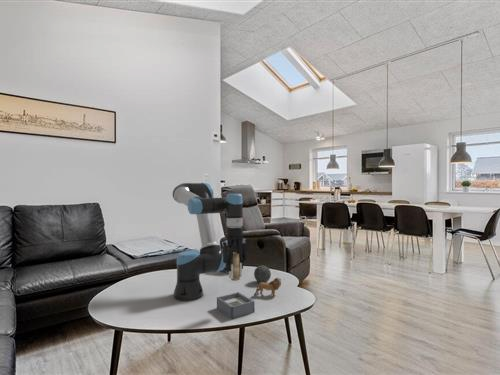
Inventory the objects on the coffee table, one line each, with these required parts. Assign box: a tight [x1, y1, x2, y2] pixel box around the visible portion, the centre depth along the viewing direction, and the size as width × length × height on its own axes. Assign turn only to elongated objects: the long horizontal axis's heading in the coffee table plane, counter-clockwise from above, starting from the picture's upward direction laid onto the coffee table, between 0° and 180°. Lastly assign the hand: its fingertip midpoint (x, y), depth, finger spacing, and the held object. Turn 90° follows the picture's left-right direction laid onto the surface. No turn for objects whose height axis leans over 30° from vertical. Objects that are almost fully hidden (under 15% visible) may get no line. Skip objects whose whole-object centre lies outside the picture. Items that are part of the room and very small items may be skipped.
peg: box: [230, 252, 241, 281], centre depth 136 cm, size 4×4×12 cm
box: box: [216, 291, 256, 320], centre depth 137 cm, size 14×12×5 cm
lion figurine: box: [253, 277, 282, 297], centre depth 155 cm, size 15×5×9 cm, turn 96°
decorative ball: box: [253, 265, 272, 283], centre depth 176 cm, size 10×10×10 cm
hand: (235, 277), depth 136 cm, fingers closed on peg, 4 cm apart
